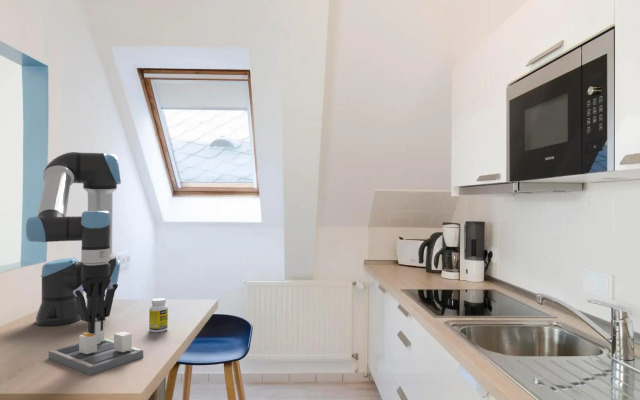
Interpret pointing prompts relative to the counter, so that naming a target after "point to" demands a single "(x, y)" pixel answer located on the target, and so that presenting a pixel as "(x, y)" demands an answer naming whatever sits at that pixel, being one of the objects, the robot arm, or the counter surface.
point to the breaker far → (102, 334)
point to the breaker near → (122, 341)
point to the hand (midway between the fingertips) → (95, 343)
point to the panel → (94, 357)
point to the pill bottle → (158, 315)
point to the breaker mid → (87, 343)
